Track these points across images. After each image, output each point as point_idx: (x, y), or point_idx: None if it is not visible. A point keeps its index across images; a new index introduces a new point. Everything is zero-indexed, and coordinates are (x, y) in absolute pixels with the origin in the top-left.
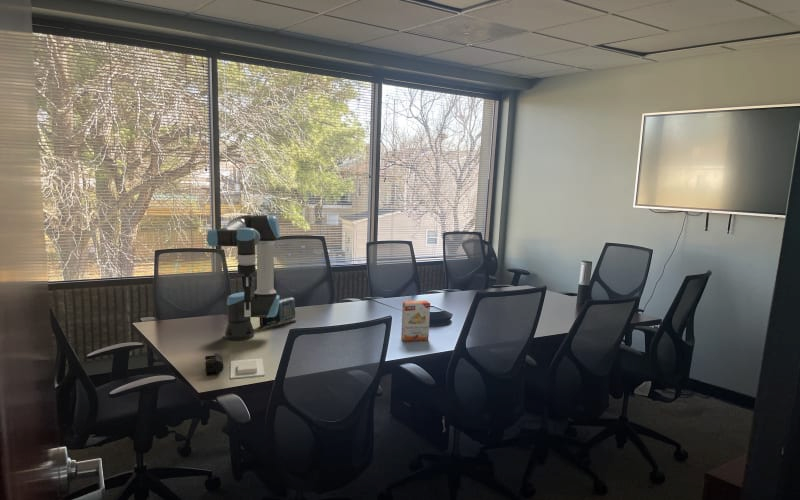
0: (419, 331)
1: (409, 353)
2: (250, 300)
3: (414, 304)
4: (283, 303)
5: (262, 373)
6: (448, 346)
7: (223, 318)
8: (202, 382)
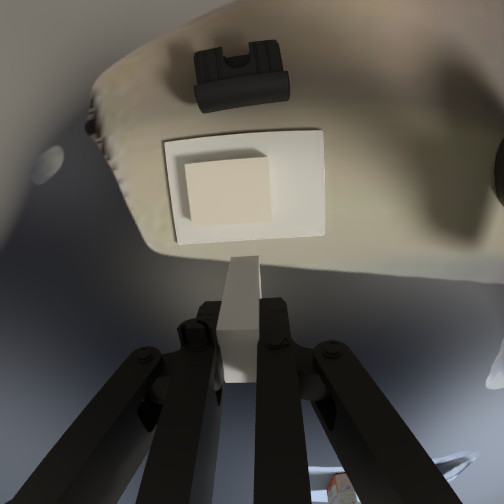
0: (330, 497)
1: None
2: (154, 405)
3: None
4: None
5: (187, 238)
6: None
7: None
8: (154, 64)
